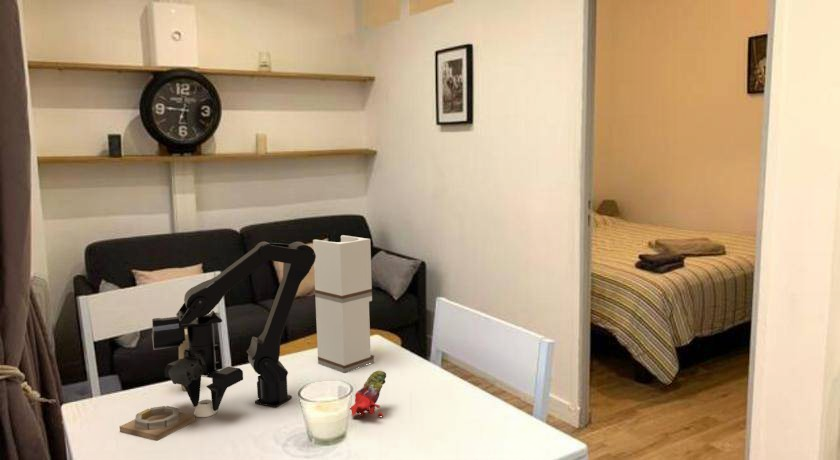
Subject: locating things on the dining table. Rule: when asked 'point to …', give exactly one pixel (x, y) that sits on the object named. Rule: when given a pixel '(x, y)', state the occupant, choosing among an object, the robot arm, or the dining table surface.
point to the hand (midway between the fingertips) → (205, 408)
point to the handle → (183, 350)
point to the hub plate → (158, 431)
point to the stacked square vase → (343, 302)
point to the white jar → (204, 409)
